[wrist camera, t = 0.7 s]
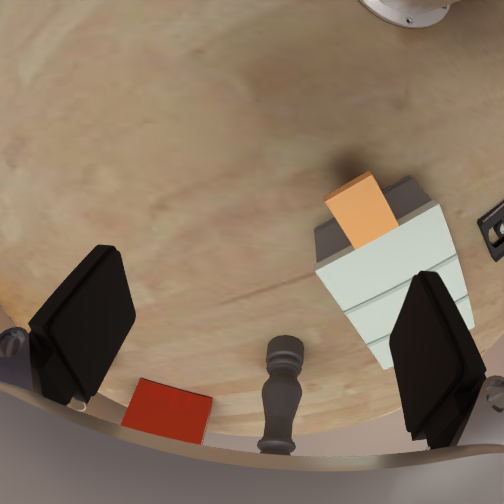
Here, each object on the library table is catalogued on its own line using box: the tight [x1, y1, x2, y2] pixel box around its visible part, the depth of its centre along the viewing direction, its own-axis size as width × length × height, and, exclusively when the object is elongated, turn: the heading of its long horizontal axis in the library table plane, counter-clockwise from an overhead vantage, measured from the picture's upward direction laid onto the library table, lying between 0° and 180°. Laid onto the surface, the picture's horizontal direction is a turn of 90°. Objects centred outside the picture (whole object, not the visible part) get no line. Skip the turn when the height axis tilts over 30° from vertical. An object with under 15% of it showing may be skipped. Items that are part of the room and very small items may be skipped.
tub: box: [314, 176, 432, 263], centre depth 36 cm, size 14×20×8 cm
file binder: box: [121, 378, 212, 445], centre depth 53 cm, size 8×17×32 cm, turn 80°
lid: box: [314, 171, 475, 370], centre depth 31 cm, size 14×26×2 cm, turn 37°
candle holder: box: [257, 335, 304, 456], centre depth 41 cm, size 6×6×25 cm
